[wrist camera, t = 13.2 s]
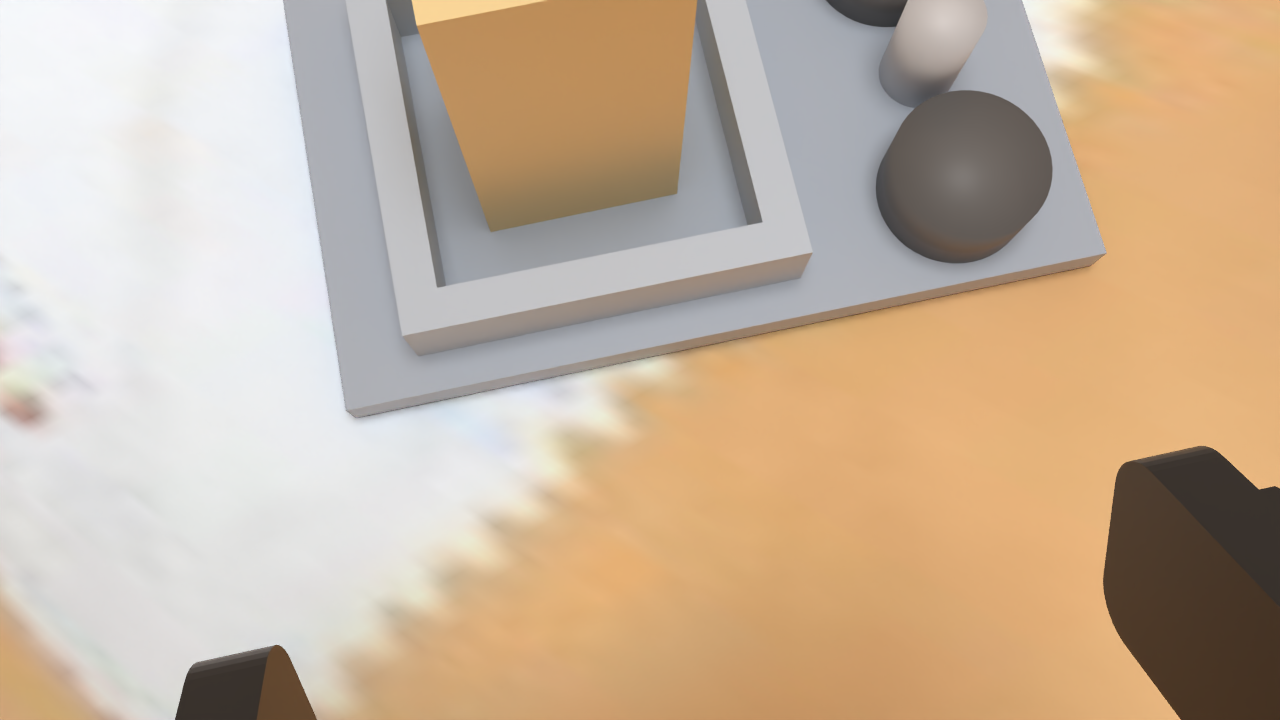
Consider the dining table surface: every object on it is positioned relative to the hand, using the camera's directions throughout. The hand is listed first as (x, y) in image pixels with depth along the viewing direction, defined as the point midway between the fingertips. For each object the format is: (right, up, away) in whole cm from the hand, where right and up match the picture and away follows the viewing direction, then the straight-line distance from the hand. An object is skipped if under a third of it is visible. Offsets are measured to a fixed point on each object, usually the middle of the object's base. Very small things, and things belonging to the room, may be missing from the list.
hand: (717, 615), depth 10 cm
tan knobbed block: (-3, +8, +18) cm, 20 cm away
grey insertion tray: (0, +9, +20) cm, 22 cm away
